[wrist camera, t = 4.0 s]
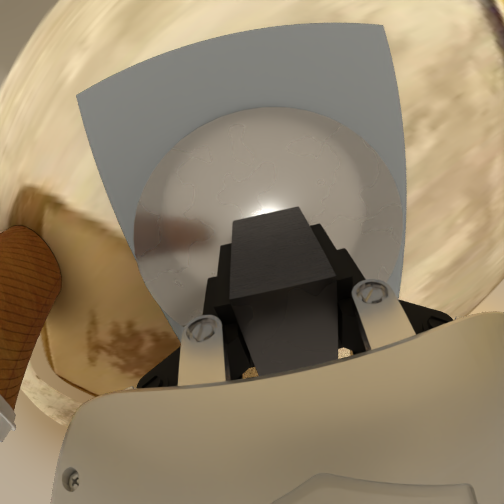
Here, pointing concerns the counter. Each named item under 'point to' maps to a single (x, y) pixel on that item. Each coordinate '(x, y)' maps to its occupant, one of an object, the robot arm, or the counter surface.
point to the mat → (243, 102)
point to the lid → (267, 226)
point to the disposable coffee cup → (22, 309)
